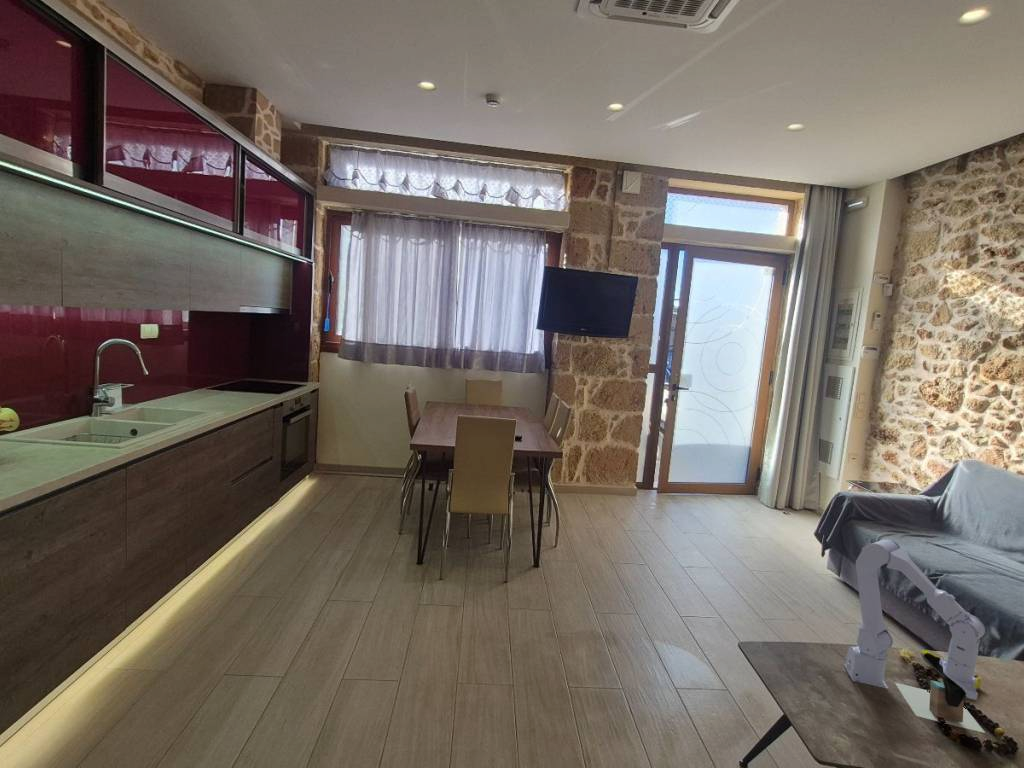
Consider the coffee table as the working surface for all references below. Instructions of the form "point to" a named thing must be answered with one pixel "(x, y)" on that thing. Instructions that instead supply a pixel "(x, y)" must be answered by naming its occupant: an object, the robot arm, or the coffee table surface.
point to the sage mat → (920, 707)
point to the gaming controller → (934, 662)
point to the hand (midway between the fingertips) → (951, 704)
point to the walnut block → (943, 703)
